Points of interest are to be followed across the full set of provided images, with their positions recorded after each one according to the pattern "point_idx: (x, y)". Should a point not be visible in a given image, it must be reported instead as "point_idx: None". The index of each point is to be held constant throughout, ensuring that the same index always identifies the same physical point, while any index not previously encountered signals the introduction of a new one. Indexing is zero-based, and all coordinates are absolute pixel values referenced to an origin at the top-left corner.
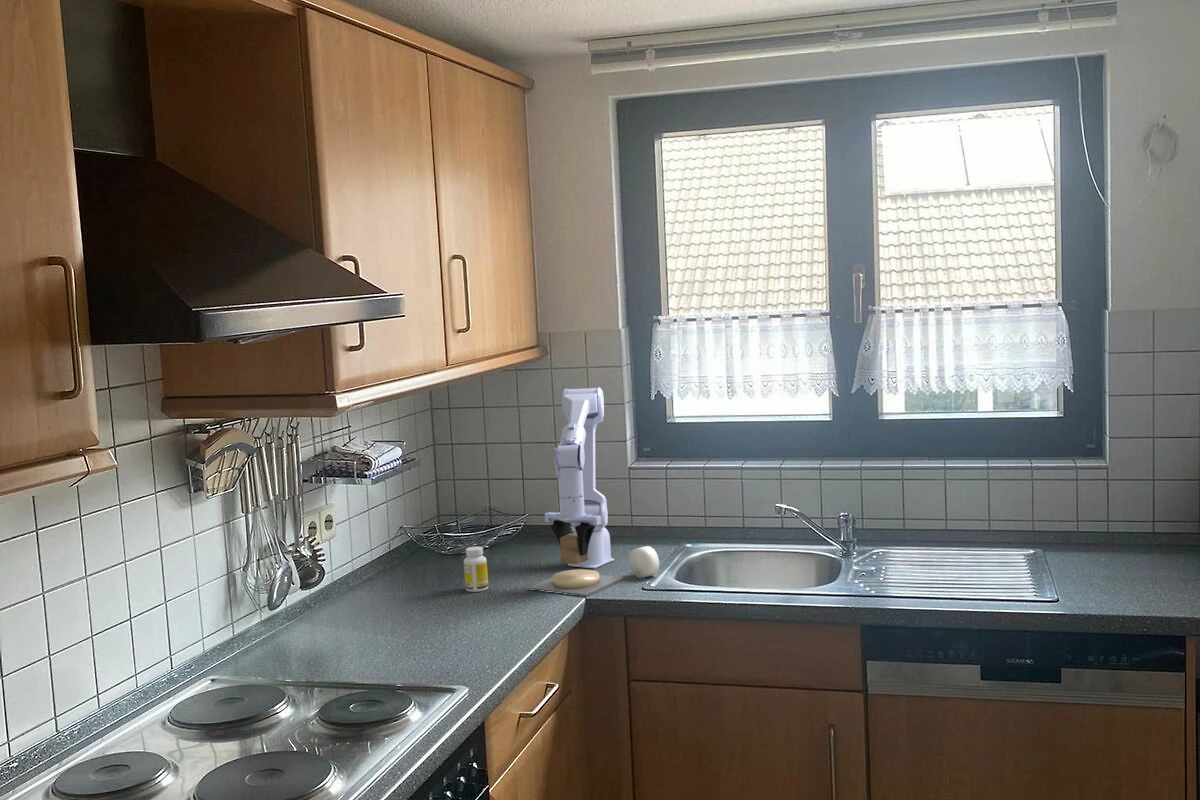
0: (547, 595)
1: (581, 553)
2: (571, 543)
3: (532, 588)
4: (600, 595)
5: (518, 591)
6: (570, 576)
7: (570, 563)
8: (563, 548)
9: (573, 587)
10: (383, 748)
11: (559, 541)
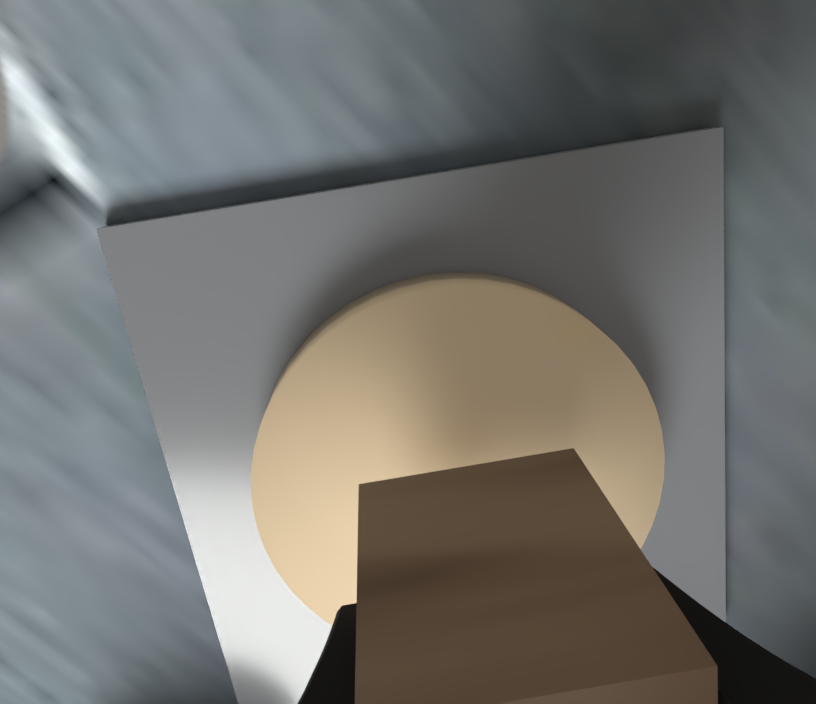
0: (443, 85)
1: (344, 616)
2: (446, 641)
3: (675, 133)
4: (52, 330)
5: (772, 45)
6: (476, 439)
7: (448, 470)
8: (582, 555)
9: (333, 314)
10: None
11: (728, 643)
